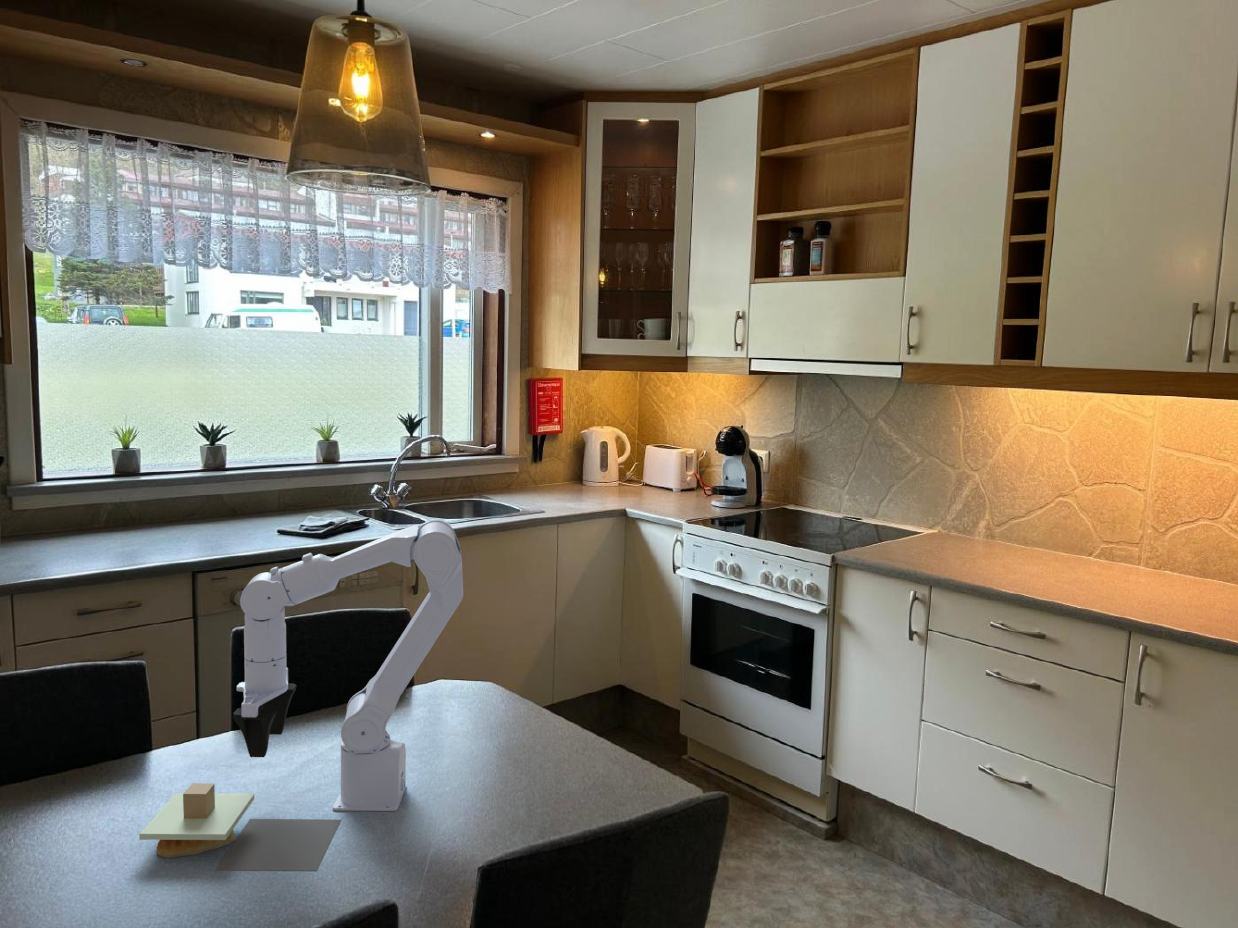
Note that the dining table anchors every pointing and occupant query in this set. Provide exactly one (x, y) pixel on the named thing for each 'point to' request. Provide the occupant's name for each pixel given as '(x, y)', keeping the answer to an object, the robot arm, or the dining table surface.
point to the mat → (280, 845)
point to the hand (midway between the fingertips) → (266, 744)
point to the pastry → (189, 846)
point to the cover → (198, 815)
